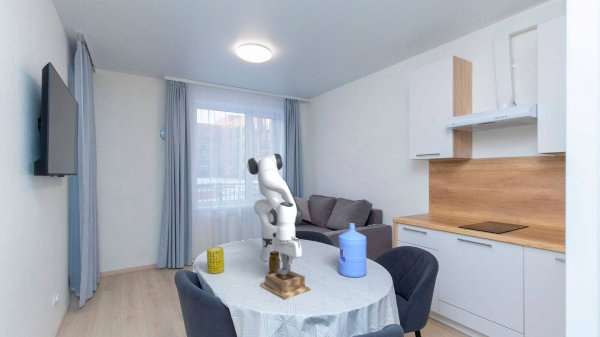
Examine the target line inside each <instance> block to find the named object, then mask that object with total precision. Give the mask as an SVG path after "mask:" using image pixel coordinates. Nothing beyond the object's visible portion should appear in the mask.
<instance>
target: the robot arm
mask: <svg viewBox="0 0 600 337" xmlns="http://www.w3.org/2000/svg"><path fill="white" fill-rule="evenodd" d="M283 165H284V160H283V157H282V156H281V154H279V153H272V154H271V153H270V154H269V153H268V154H262V155H260V156H256V157H251V158H249V159H248V160H247V164H246V168H247V171H248V172H249V174H250V175H255V176H256V175H257V183H258V188H259V194H261V195H262V196H263V197H265V198H262V199H258V200H256V201H255V202H254V204H253V210H254V213H255V214H256V215H257V216H258V218H259V220H260V221H261V225H262V250H261V256H260V260H261V261H263V262H269V257H270V252H272V251H277V252H279V257H280V263H282V254H285V255H288V256H289V261H288V264H289V265H290V266H291V265H293V260H294V259H299V258H301V257H302V256H303V250H302V243H301V241H300V239H299V238H298V237H296V226H298V225H300V223H302V221H303V219H304V214H303V210H302V209H301V208H300V206H299V204H298V202H297V200H296V198H295V196H294V194H293V191H292V189H291V187H290V185H289V183H288V182H287V181H285V180H284V179H283V178H282V176H281V175H280V172H279V170H282V168H283ZM283 198H284V199H283Z"/></svg>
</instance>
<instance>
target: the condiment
mask: <svg viewBox="0 0 600 337" xmlns="http://www.w3.org/2000/svg"><path fill="white" fill-rule="evenodd" d="M268 266H269V267H268V270H269V271H266V274H267V275H269V274H273V273H276V272H278V269H279V268H281V261H280V257H279V252H277V251H272V252H270V257H269V261H268Z"/></svg>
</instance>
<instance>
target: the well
mask: <svg viewBox="0 0 600 337" xmlns="http://www.w3.org/2000/svg"><path fill="white" fill-rule="evenodd" d="M305 280H306V276H304V275H302V274H299V273H297V272H295V271H293V270H290V273H289V274H285V275H281V274H278V272H276V273H273V274H265V276H264V282H263V283H260V284H259V286H260V288H262V289H264V290H266V291H268V292H269V293H271V294H272V295H275V296H277V297H279V298H281V299H282V300H284V301H285V300H287V299H290V298H293V297H295V296H298V295H301V294H304V293H307V292H309V291H311V287H309V286H307V285H306V281H305Z"/></svg>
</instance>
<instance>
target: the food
mask: <svg viewBox="0 0 600 337" xmlns="http://www.w3.org/2000/svg"><path fill="white" fill-rule="evenodd" d="M224 252H225V251H224V247H223V246H215V245H214V246H213V245H212V246H209V247H208V248H207V249H206V260H207V261H206V262H207V264H206V265H207V272H208V274H219V275H220V273H222V272H224V271H225V254H224Z"/></svg>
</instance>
